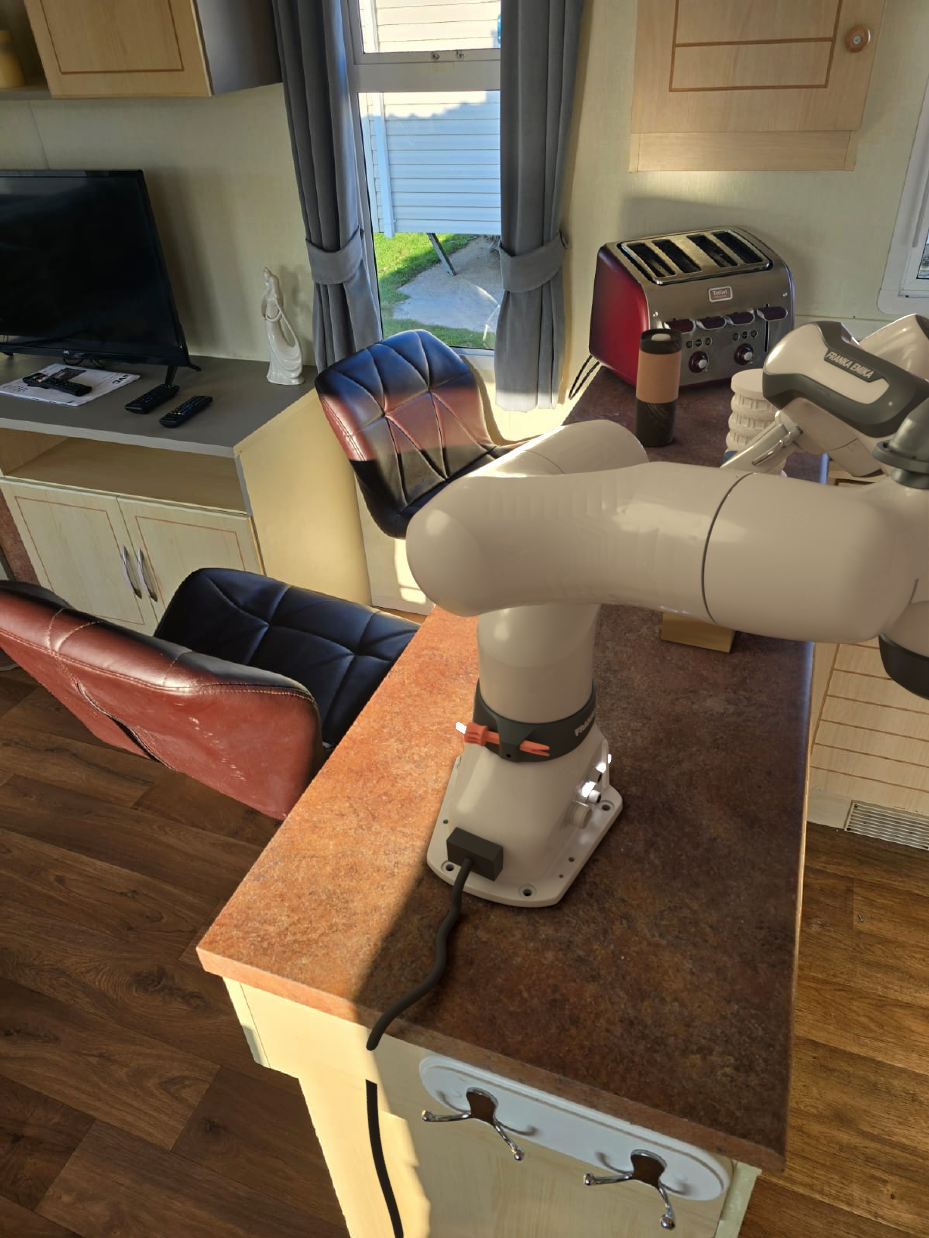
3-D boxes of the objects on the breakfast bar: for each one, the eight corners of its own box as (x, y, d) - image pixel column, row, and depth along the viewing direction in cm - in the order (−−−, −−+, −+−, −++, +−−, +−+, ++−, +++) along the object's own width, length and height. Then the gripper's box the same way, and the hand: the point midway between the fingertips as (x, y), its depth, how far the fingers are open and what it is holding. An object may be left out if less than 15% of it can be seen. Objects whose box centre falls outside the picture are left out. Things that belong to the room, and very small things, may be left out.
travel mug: (679, 435, 164) (690, 330, 153) (664, 450, 159) (674, 343, 148) (642, 428, 168) (649, 325, 156) (626, 443, 163) (633, 338, 151)
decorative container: (783, 501, 141) (802, 396, 130) (711, 492, 145) (724, 389, 134) (789, 471, 149) (807, 371, 139) (721, 464, 153) (734, 365, 143)
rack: (729, 653, 109) (737, 601, 104) (660, 639, 112) (665, 588, 107) (753, 569, 125) (761, 521, 120) (692, 559, 128) (698, 512, 123)
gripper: (797, 469, 96) (707, 522, 107) (857, 410, 109) (771, 463, 120) (765, 424, 96) (678, 482, 107) (829, 370, 109) (745, 427, 120)
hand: (728, 471), depth 113 cm, fingers closed on peg, 3 cm apart
